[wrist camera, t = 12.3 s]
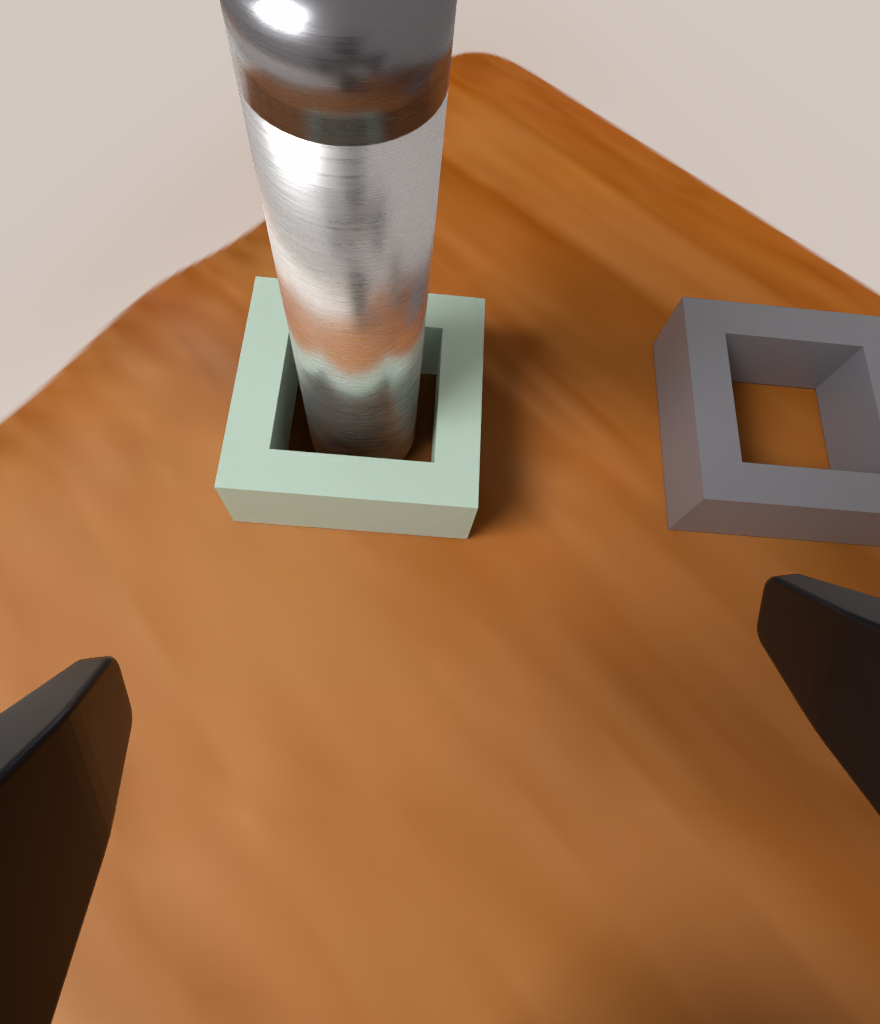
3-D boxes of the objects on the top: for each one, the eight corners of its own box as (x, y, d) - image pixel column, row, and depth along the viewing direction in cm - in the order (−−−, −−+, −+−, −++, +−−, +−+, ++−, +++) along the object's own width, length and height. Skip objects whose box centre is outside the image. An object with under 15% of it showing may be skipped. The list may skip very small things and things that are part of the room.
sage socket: (467, 539, 24) (478, 508, 21) (234, 520, 24) (214, 487, 21) (474, 347, 27) (485, 298, 24) (269, 328, 27) (255, 276, 24)
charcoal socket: (881, 546, 25) (942, 518, 23) (668, 529, 25) (704, 498, 22) (843, 362, 29) (893, 317, 26) (653, 344, 28) (682, 296, 25)
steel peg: (433, 448, 25) (506, -10, 11) (339, 494, 24) (275, 57, 10) (384, 370, 27) (387, -144, 12) (292, 409, 26) (170, -97, 11)
